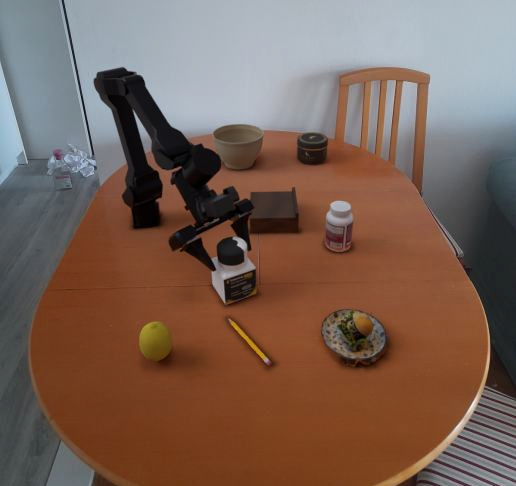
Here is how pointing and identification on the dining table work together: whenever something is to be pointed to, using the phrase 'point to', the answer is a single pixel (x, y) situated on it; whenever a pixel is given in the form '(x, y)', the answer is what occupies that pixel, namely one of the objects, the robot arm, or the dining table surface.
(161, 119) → the robot arm
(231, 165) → the planter bowl
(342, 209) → the pill bottle
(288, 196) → the dark brown lipped tray
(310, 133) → the jar
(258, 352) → the pencil
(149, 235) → the dining table surface
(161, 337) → the lemon
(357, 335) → the food bowl
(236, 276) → the medicine bottle
